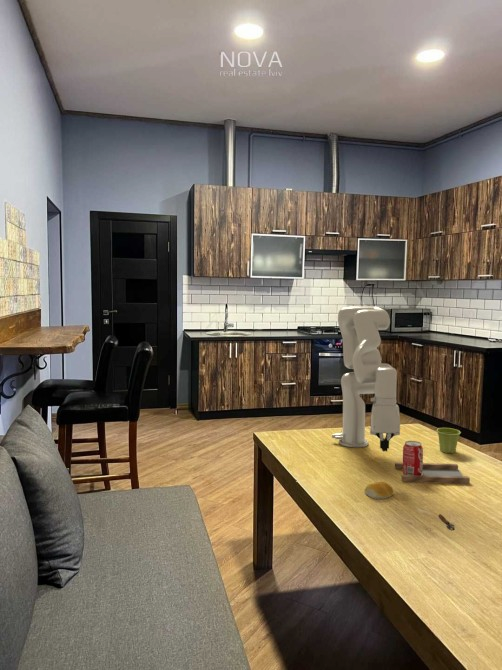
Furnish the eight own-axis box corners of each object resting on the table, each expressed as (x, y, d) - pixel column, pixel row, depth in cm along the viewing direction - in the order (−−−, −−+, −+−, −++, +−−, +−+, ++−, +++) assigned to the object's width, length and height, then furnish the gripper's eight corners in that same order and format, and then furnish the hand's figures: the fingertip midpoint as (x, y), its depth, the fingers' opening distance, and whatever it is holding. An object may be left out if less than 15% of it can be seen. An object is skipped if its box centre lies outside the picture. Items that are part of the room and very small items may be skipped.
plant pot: (463, 450, 214) (464, 430, 213) (454, 456, 207) (455, 435, 206) (441, 446, 221) (442, 426, 220) (432, 451, 214) (432, 431, 213)
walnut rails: (402, 482, 181) (402, 476, 181) (394, 467, 195) (394, 462, 195) (469, 483, 179) (469, 478, 179) (456, 469, 193) (456, 463, 193)
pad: (427, 480, 182) (427, 480, 182) (419, 469, 193) (419, 469, 193) (467, 481, 181) (467, 480, 181) (457, 470, 192) (458, 469, 192)
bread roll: (397, 495, 170) (398, 484, 170) (378, 502, 165) (379, 490, 165) (378, 487, 177) (379, 476, 177) (360, 493, 172) (360, 481, 172)
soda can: (419, 471, 191) (420, 440, 190) (424, 478, 184) (425, 446, 183) (400, 471, 192) (401, 439, 190) (404, 478, 185) (405, 445, 183)
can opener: (438, 517, 154) (438, 513, 154) (445, 517, 154) (446, 513, 154) (449, 532, 145) (449, 528, 145) (457, 532, 145) (457, 528, 145)
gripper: (365, 403, 183) (365, 453, 185) (408, 403, 181) (407, 454, 183) (363, 398, 190) (362, 446, 192) (404, 399, 189) (403, 447, 191)
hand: (384, 450), depth 188 cm, fingers closed
